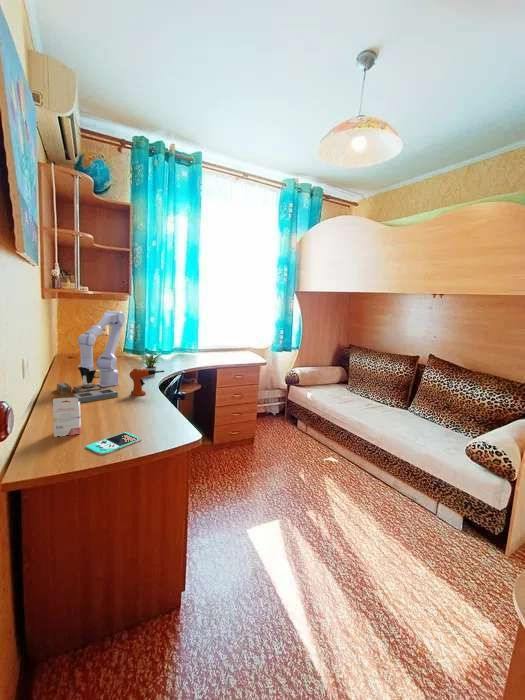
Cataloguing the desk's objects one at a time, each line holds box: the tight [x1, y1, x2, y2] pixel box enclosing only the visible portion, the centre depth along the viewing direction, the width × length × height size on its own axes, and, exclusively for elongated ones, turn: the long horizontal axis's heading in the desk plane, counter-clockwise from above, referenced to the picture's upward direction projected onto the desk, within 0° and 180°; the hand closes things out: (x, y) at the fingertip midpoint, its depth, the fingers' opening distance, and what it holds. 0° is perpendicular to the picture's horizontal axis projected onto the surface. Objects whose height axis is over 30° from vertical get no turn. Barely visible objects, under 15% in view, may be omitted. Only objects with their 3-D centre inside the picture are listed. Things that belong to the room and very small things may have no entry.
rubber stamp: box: [94, 369, 100, 378], centre depth 205 cm, size 10×6×12 cm, turn 117°
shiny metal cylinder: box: [82, 375, 92, 389], centre depth 171 cm, size 4×4×9 cm
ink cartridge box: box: [52, 397, 82, 438], centre depth 120 cm, size 9×5×15 cm, turn 114°
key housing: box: [56, 382, 72, 395], centre depth 169 cm, size 4×10×4 cm, turn 46°
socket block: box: [73, 383, 102, 394], centre depth 172 cm, size 10×10×2 cm
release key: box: [58, 382, 68, 387], centre depth 170 cm, size 2×9×2 cm, turn 46°
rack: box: [73, 388, 119, 404], centre depth 163 cm, size 18×8×2 cm, turn 136°
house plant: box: [142, 352, 160, 378], centre depth 211 cm, size 14×14×16 cm
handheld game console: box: [85, 431, 140, 453], centre depth 115 cm, size 10×16×1 cm, turn 148°
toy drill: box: [128, 368, 165, 397], centre depth 173 cm, size 5×19×15 cm, turn 100°
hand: (87, 381), depth 171 cm, fingers open, 7 cm apart
